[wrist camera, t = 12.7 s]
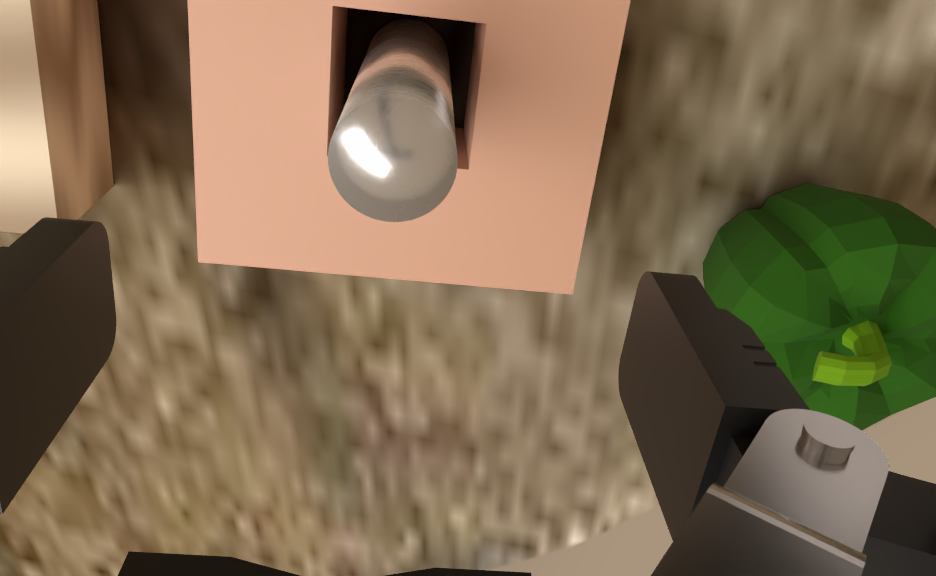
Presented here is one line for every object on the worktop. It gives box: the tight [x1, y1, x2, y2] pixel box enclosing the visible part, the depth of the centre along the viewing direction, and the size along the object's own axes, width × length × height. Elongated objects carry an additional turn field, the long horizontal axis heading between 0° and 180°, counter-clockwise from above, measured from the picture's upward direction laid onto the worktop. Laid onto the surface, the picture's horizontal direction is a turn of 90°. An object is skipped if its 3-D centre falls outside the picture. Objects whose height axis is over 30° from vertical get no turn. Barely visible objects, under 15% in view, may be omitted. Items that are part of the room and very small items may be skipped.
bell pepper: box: [703, 184, 936, 431], centre depth 29 cm, size 8×8×10 cm
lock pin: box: [328, 19, 458, 222], centre depth 24 cm, size 3×3×12 cm
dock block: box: [188, 0, 631, 294], centre depth 27 cm, size 13×13×5 cm
